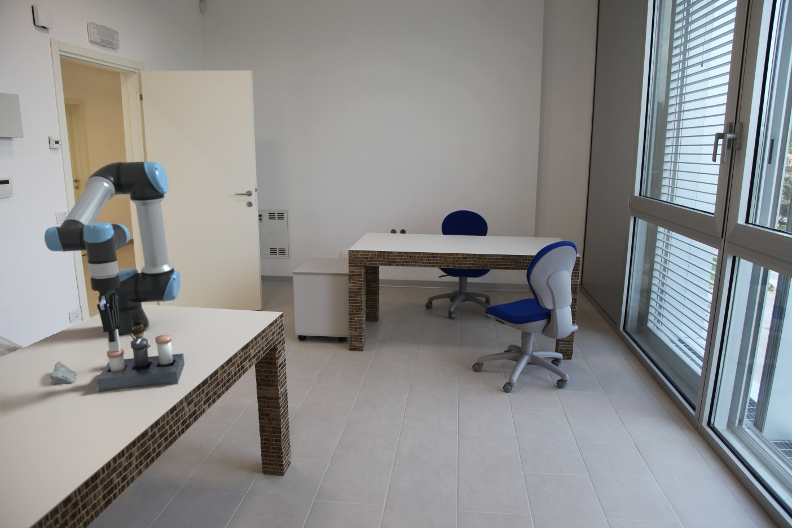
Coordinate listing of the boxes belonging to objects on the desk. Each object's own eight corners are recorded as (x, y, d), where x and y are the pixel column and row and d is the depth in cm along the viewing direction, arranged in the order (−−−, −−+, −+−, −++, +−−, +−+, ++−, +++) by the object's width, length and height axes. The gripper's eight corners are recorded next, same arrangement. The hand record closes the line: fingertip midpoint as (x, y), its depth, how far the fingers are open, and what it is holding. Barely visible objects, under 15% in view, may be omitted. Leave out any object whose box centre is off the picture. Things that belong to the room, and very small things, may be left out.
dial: (135, 361, 165) (132, 338, 163) (151, 360, 166) (149, 336, 164) (131, 368, 160) (128, 343, 158) (148, 366, 161) (145, 342, 159)
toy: (145, 365, 173) (139, 322, 169) (130, 364, 174) (124, 321, 170) (157, 358, 179) (151, 316, 175) (142, 357, 180) (137, 315, 176)
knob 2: (159, 359, 166) (156, 335, 164) (175, 358, 167) (172, 333, 165) (156, 365, 162) (153, 340, 160) (172, 364, 163) (169, 339, 161)
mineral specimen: (79, 371, 171) (78, 358, 171) (75, 383, 161) (73, 370, 160) (56, 374, 169) (55, 361, 168) (50, 387, 158) (48, 373, 157)
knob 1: (112, 373, 164) (109, 348, 162) (128, 371, 165) (125, 347, 163) (108, 379, 159) (104, 354, 157) (125, 378, 160) (121, 353, 158)
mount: (111, 372, 168) (109, 360, 167) (184, 364, 173) (183, 353, 172) (98, 391, 155) (96, 379, 154) (177, 383, 160) (176, 371, 159)
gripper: (97, 271, 160) (107, 343, 165) (83, 281, 148) (94, 360, 153) (124, 269, 162) (133, 341, 167) (112, 280, 149) (122, 357, 155)
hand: (115, 350), depth 160 cm, fingers closed
